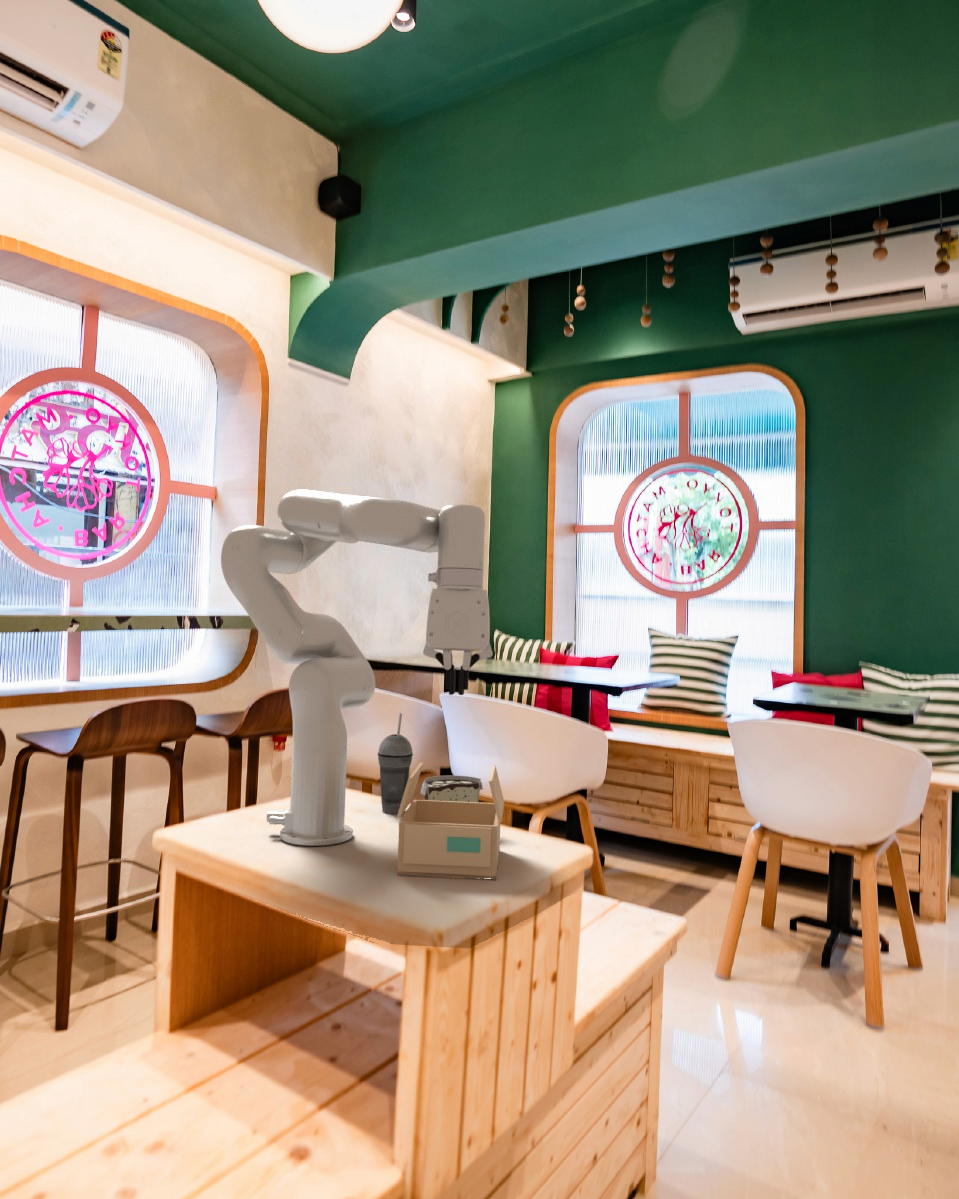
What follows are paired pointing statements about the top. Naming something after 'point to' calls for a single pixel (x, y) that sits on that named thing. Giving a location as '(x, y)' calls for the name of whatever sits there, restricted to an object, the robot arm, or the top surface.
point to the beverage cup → (394, 769)
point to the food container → (452, 788)
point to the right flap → (496, 793)
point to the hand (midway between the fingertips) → (456, 693)
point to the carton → (449, 840)
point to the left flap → (409, 790)
